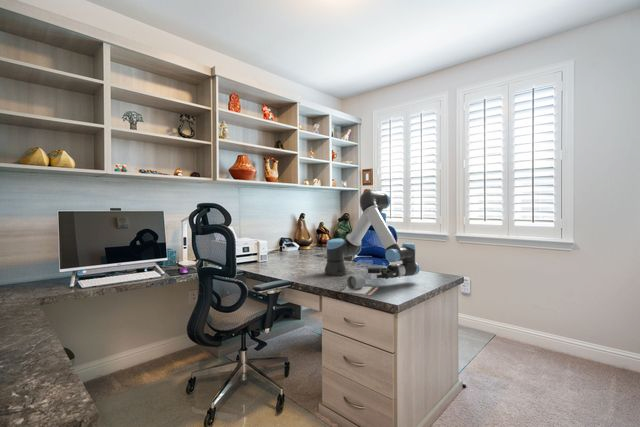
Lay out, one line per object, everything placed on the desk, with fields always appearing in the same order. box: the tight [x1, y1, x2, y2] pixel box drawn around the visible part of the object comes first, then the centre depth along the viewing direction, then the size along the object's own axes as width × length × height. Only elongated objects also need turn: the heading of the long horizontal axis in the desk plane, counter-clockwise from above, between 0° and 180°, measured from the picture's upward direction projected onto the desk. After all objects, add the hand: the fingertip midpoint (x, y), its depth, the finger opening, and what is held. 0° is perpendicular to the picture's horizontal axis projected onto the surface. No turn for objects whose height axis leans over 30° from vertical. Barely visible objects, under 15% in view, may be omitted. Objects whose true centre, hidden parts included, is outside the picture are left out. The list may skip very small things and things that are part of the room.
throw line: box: [367, 286, 380, 297], centre depth 176 cm, size 17×2×1 cm, turn 155°
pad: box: [341, 285, 374, 296], centre depth 180 cm, size 15×13×1 cm
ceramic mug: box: [345, 274, 366, 290], centre depth 182 cm, size 11×8×8 cm
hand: (364, 274), depth 182 cm, fingers open, 13 cm apart
